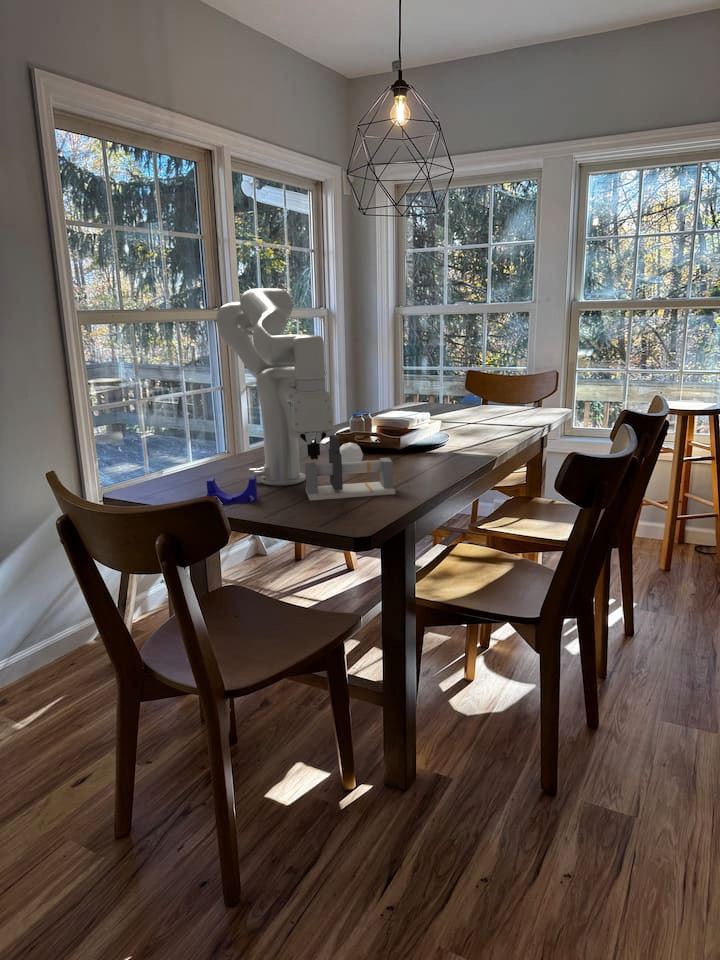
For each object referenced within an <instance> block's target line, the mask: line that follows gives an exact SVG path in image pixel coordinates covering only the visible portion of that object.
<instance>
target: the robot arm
mask: <svg viewBox="0 0 720 960" xmlns="http://www.w3.org/2000/svg"><path fill="white" fill-rule="evenodd" d="M292 312H293V300H292V298H291V295H290V293H288V292H287V291H286V290H285V289H282V288H275V287H273V288H252V289H251V288H250V289H249V290H246V291H244V292H243V293H242V295H241V296H240V299H239V301H233V302H229V303H228V302H227V303H225V304H223V305H222V306H220V308H218V310H217V313H216V324H217V328H218V331H219V334H220V336H221V338H222V340H223V342H224V343H225V344H226V345H227V346H228V347H229V348H230V349H231V350H232V351H233V352H234V353H235V354H236V355H237V356H238V357H239V359H240V361H242V363H243V365H244V366H245V367H246V369H247V370H248V372H249V373H250V374H251V376H252V377H253V378H254V379H256V382H255V384H256V391H257V394H258V399H259V404H260V410H261V418H262V419H261V420H262V432H263V433H262V434H263V436H262V437H263V448H264V450H263V451H264V464H263V466H260V467H256V468H254V467H253V468H249V469H248V470H249V476H256V477H259V476H261V477H260V482H261V483H262V484H264V485H267V486H276V487H277V486H291V485H296V484H297V485H298V484H300V483H303V482H306V473H305V474H304V473H303V472H301V471H300V470H301V469H300V467H301V466H300V453H299V452H300V451H299V450H300V449H299V438H300V439H302V440H303V442H305V443H306V444H307V446H306V447H307V457H310V460H311V461H312V460H318V459H319V456H321V446H320V444H321V443H322V441H323V440H324V439H325V438H326V437H329V435H335V430H334V412H333V405H332V398H331V395H330V391H329V390H327V387H326V385H327V384H326V383H327V382H326V363H325V342H324V339H323V337H322V336H321V335H317V334H315V335H314V334H313V335H312V334H306V333H300V334H298V333H297V334H291V333H290V334H282V333H284V331H285V329H286V327H287V325H288V320H287V319H288V318H290V316H291V315H292ZM290 402H291V406H290V404H289V403H290ZM311 433H312V434H314V433H315V437H314V439H313V440H312V437H311Z"/></svg>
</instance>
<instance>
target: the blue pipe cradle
mask: <svg viewBox="0 0 720 960" xmlns="http://www.w3.org/2000/svg"><path fill="white" fill-rule="evenodd" d="M215 479H216V478H214V477H211V478H209V477H208V478H207V480H206V490H207V491H206V495H205V496H206V497H207V496H217V497H218V498H219V499H220V501H221V502H222V503H223V504H225V505H226V506H227V505H232V504H233V503H232V502H236V503H252V502H253V503H254V502H255V503H257V501H258V498H259V497H258V485H257V476H254V475H252V476H250V477H249V478H248V485H247V487H246V488H245V489H244V490H243V491H241V492H239V493H235V494H232V493H227V492H224V490H221V489H220V488H219V487H218V484H217V483H216V480H215ZM252 497H253V498H252Z"/></svg>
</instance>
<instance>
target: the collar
mask: <svg viewBox="0 0 720 960" xmlns="http://www.w3.org/2000/svg"><path fill="white" fill-rule="evenodd" d="M328 437H329V448H328V464H330V463H332V464H333V475H329V484H330V485H332V486H333V488H334V490H343V484H344V483H343V474H342V457H341V454H340V447H341V445H340V437H339V435H338V434H332V435H329V436H328Z"/></svg>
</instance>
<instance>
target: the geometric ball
mask: <svg viewBox="0 0 720 960" xmlns="http://www.w3.org/2000/svg"><path fill="white" fill-rule="evenodd" d="M340 454H341V457H342V463H344V462H359V461H363V456H364V453H363V451H362V449H361V447H360V445H358V444H357V443H354V442H347V443H343V444H342V445H340Z"/></svg>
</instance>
